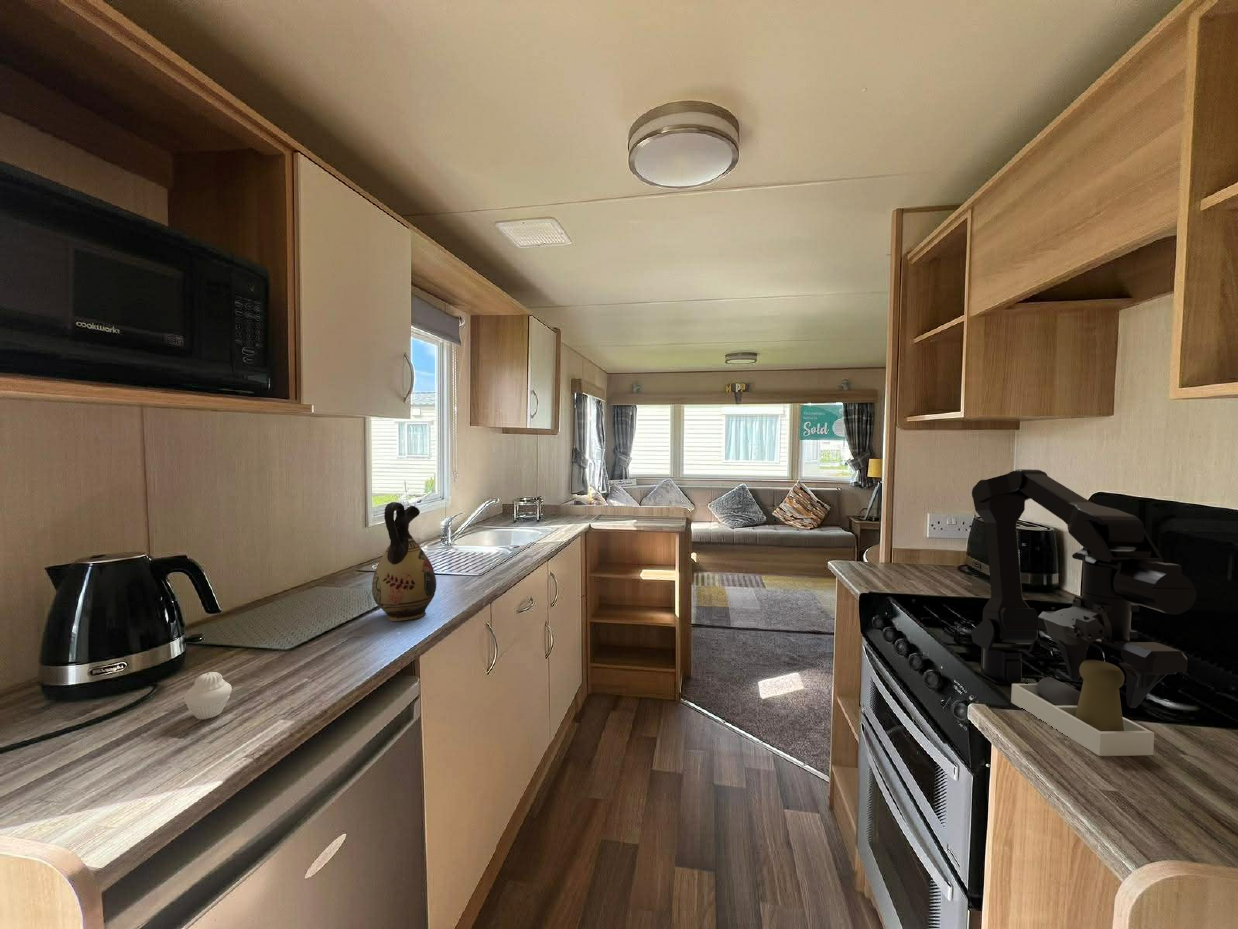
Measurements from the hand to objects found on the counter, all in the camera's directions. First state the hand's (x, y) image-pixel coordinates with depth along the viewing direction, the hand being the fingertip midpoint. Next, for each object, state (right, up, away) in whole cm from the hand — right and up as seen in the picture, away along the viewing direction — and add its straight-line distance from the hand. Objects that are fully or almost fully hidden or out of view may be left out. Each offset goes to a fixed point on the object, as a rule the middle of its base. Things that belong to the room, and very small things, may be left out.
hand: (1101, 692), depth 82 cm
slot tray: (0, -7, +4) cm, 8 cm away
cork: (0, -7, 0) cm, 7 cm away
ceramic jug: (-131, -4, +53) cm, 142 cm away
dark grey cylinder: (+1, -4, +8) cm, 9 cm away
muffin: (-143, -5, +4) cm, 143 cm away
